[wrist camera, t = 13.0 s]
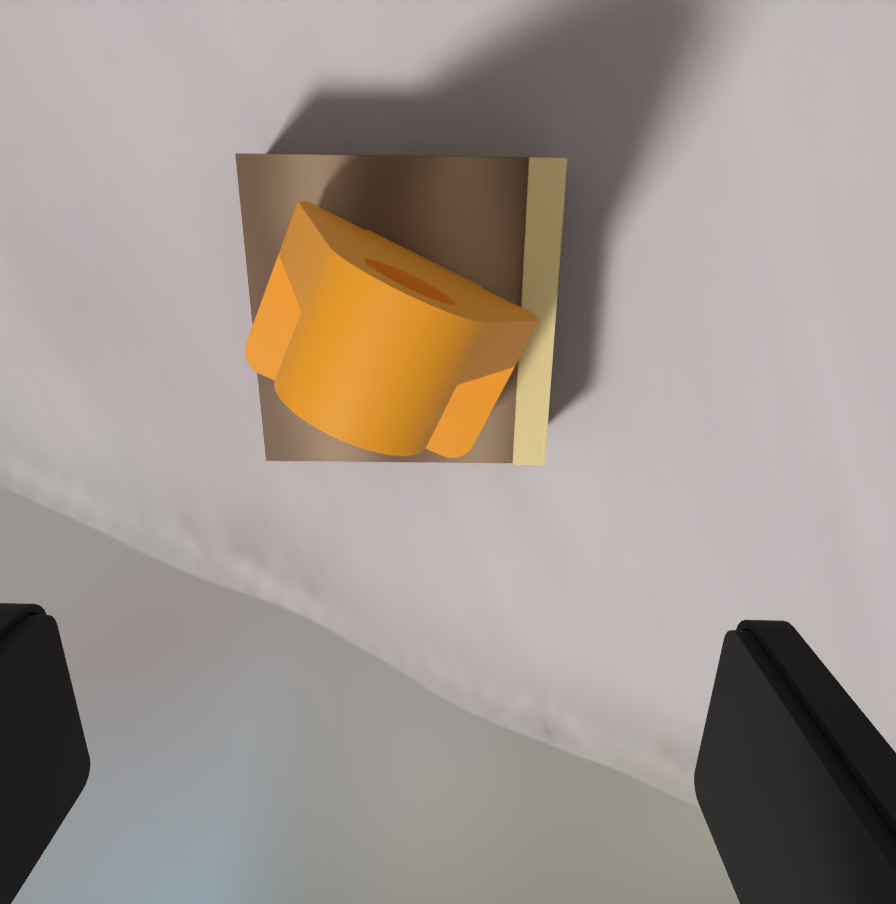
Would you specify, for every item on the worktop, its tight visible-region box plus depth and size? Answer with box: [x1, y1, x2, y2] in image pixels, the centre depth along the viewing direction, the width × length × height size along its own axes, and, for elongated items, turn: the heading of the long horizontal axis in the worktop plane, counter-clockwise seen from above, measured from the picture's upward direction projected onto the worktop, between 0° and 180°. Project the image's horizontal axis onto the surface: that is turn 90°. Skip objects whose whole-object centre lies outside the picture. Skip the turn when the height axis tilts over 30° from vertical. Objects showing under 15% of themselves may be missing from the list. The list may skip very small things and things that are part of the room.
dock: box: [236, 154, 567, 465], centre depth 31 cm, size 14×14×4 cm
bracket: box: [245, 201, 539, 458], centre depth 24 cm, size 11×7×12 cm, turn 64°
